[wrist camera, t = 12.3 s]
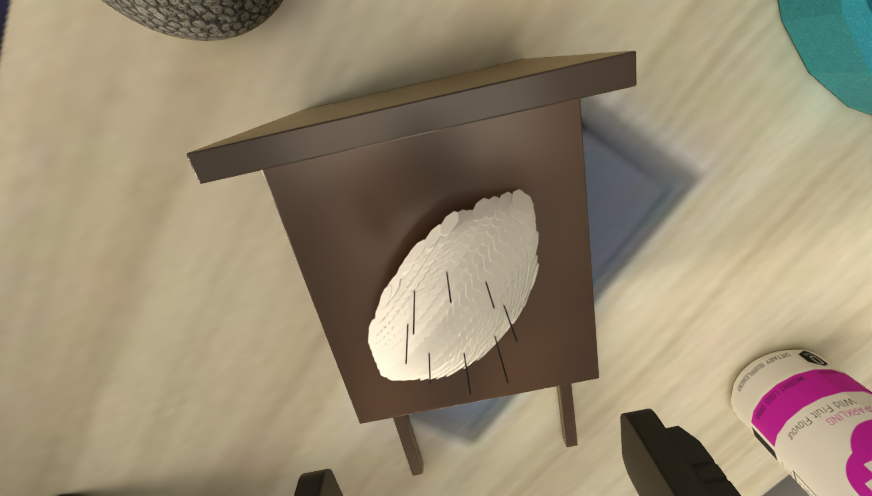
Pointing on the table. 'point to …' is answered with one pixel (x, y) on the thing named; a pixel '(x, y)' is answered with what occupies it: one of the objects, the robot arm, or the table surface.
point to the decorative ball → (197, 16)
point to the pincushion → (457, 291)
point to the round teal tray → (835, 45)
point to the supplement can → (809, 420)
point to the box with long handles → (439, 216)
